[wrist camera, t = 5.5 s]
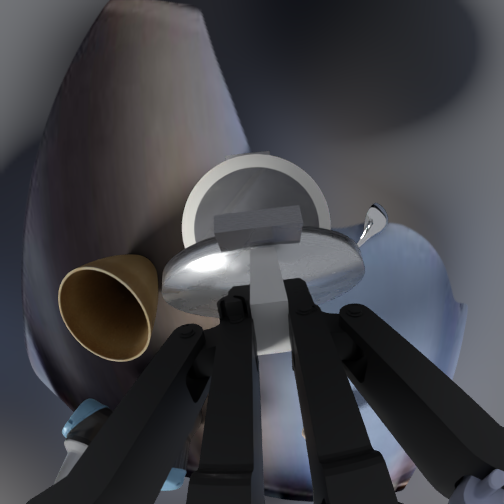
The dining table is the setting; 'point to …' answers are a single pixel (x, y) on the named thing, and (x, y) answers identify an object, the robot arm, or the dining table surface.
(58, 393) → the dining table surface
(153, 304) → the plant pot
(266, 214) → the lid
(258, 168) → the cooker pot
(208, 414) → the robot arm
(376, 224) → the stirrer
